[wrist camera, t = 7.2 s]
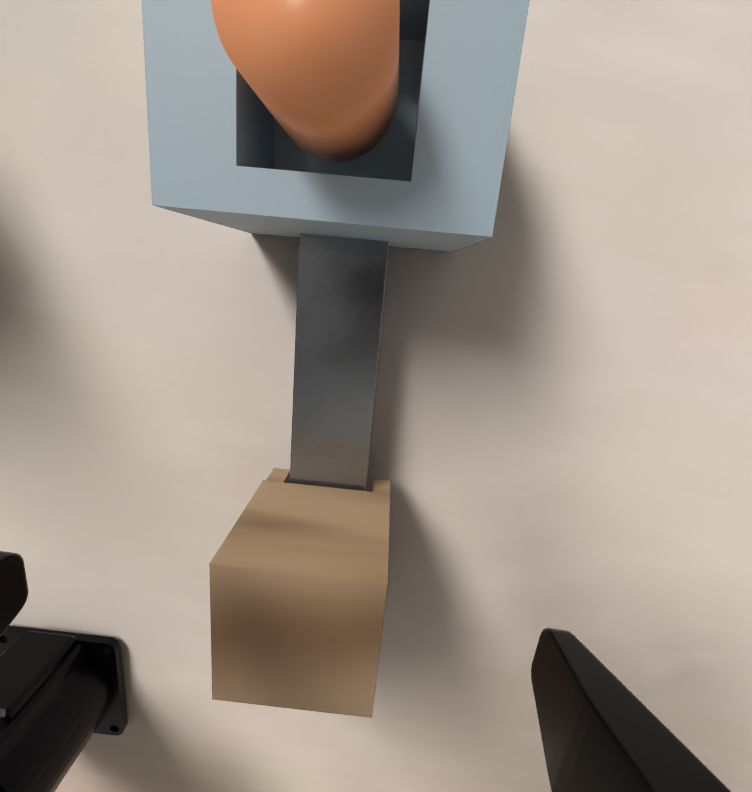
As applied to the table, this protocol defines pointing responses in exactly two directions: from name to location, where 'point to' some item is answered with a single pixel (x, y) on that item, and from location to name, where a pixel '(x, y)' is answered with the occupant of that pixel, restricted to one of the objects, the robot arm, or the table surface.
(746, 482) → the table surface
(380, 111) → the brown egg
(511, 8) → the blue grey open box
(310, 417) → the rail
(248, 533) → the block
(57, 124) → the table surface
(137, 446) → the table surface
